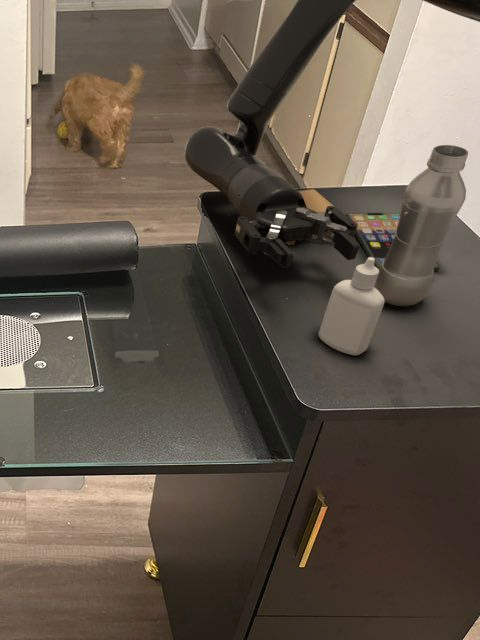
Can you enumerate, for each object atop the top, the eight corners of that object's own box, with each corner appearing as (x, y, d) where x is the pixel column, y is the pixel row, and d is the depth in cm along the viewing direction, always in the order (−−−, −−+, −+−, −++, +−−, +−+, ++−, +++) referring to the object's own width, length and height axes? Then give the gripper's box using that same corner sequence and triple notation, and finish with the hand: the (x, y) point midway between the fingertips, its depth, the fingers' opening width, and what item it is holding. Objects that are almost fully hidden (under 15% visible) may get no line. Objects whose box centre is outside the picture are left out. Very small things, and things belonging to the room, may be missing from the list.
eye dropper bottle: (335, 359, 87) (366, 273, 79) (313, 332, 91) (339, 248, 83) (370, 355, 87) (404, 269, 79) (346, 328, 91) (376, 244, 84)
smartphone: (376, 271, 101) (379, 263, 100) (344, 219, 112) (346, 212, 111) (437, 271, 100) (441, 263, 99) (399, 219, 111) (401, 212, 110)
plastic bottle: (360, 300, 96) (408, 153, 83) (382, 279, 99) (432, 135, 86) (411, 318, 92) (470, 167, 79) (432, 296, 95) (492, 148, 83)
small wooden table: (306, 218, 113) (314, 188, 110) (329, 240, 108) (338, 209, 104) (266, 223, 113) (273, 193, 109) (288, 245, 107) (296, 214, 104)
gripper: (220, 180, 100) (274, 237, 88) (318, 169, 101) (385, 224, 89) (211, 229, 105) (261, 289, 93) (305, 218, 106) (366, 276, 94)
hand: (321, 257), depth 91 cm, fingers open, 8 cm apart
